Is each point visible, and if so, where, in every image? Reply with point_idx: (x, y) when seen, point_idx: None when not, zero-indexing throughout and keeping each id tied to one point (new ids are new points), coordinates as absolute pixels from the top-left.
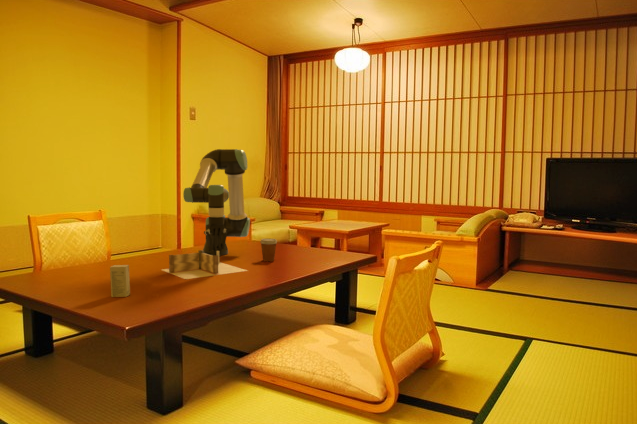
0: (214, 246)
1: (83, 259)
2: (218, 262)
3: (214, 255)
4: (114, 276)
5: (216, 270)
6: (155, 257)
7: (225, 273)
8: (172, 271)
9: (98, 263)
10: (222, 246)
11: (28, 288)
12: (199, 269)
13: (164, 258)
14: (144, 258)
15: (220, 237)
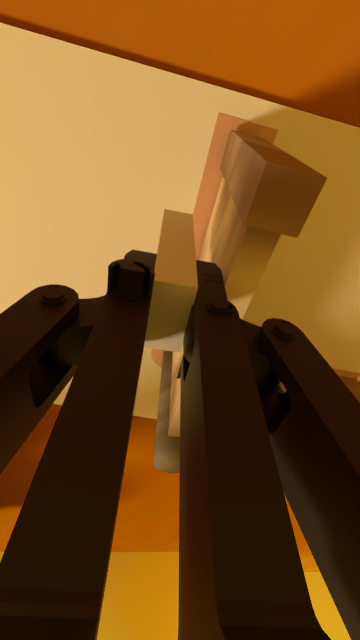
0: (247, 359)
1: None
2: (175, 216)
3: (285, 224)
4: None
5: (253, 138)
6: (144, 533)
7: (168, 86)
8: (351, 382)
9: (300, 548)
10: (61, 316)
11: None
12: None
13: (133, 520)
14: (176, 537)
15: (25, 583)
